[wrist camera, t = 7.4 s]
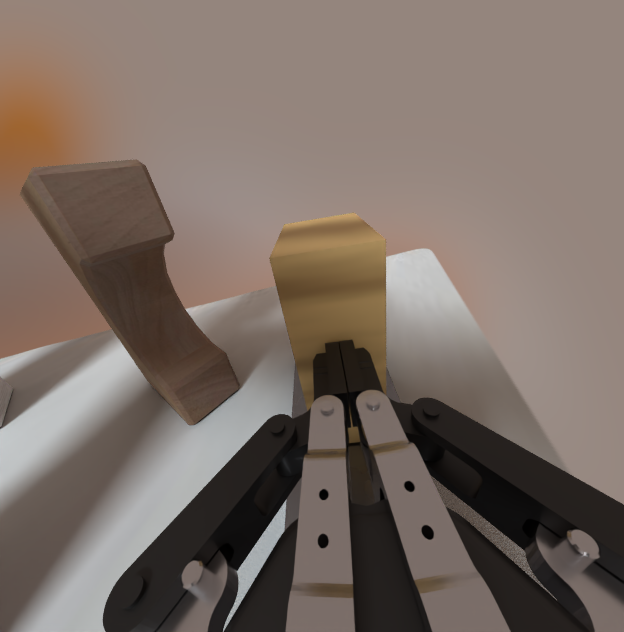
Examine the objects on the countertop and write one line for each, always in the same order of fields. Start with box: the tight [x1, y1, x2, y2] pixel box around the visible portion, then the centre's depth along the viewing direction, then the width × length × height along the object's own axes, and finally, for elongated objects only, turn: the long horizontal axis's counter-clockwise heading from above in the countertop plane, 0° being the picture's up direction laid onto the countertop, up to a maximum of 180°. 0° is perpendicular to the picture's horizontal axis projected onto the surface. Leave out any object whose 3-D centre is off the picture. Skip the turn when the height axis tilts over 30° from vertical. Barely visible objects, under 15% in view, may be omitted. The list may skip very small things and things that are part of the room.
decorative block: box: [20, 160, 239, 425], centre depth 22 cm, size 11×6×20 cm, turn 50°
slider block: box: [270, 213, 386, 443], centre depth 17 cm, size 8×5×14 cm, turn 1°
